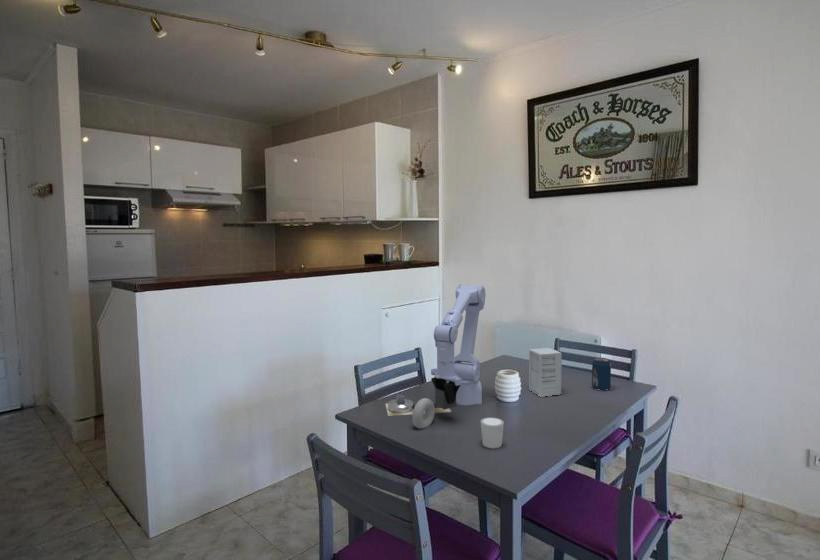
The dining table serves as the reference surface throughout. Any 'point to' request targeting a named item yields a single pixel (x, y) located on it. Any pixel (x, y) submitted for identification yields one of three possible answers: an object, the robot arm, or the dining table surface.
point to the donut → (429, 413)
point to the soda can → (601, 373)
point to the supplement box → (545, 371)
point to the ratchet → (402, 405)
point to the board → (437, 410)
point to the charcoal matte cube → (442, 398)
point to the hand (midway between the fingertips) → (445, 400)
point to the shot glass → (492, 432)
